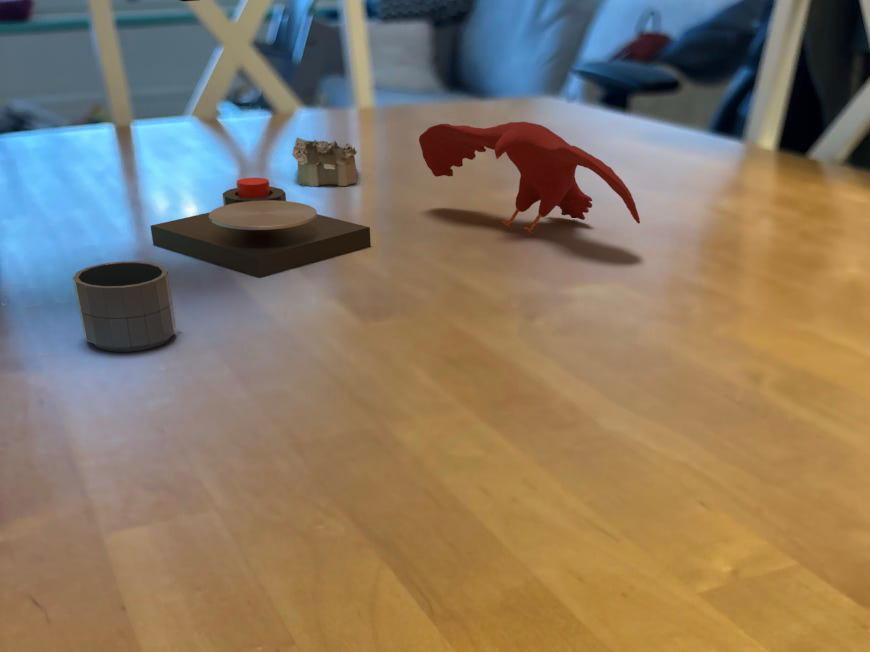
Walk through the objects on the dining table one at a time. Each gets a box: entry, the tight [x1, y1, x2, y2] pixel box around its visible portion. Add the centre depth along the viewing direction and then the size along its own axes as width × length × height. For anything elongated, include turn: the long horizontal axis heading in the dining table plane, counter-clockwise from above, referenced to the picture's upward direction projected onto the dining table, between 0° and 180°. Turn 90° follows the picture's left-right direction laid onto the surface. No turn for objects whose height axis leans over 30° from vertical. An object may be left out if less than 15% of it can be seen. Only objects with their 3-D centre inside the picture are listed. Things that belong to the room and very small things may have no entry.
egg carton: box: [291, 137, 358, 187], centre depth 133 cm, size 11×8×4 cm
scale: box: [149, 186, 372, 279], centre depth 108 cm, size 17×14×4 cm
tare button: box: [236, 177, 271, 198], centre depth 112 cm, size 3×3×2 cm
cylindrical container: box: [72, 260, 177, 353], centre depth 85 cm, size 7×7×5 cm
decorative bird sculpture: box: [418, 121, 641, 237], centre depth 112 cm, size 28×9×15 cm
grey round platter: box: [208, 200, 318, 230], centre depth 104 cm, size 10×10×1 cm
